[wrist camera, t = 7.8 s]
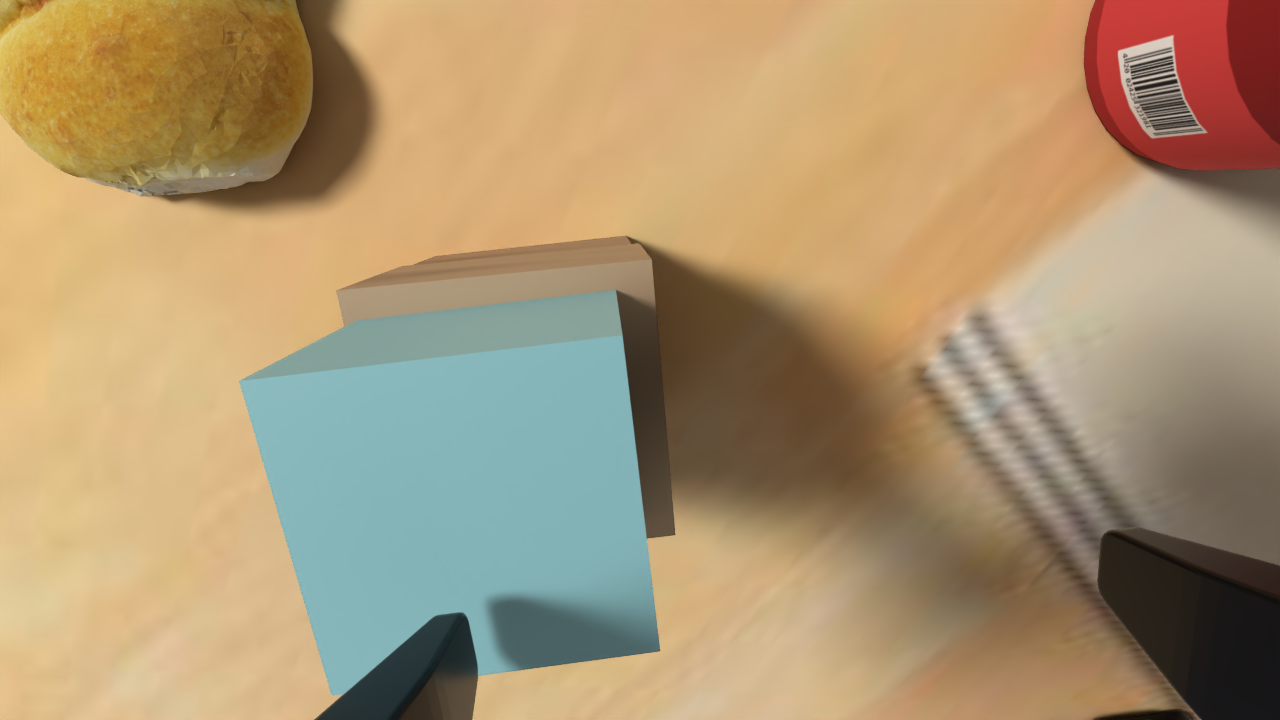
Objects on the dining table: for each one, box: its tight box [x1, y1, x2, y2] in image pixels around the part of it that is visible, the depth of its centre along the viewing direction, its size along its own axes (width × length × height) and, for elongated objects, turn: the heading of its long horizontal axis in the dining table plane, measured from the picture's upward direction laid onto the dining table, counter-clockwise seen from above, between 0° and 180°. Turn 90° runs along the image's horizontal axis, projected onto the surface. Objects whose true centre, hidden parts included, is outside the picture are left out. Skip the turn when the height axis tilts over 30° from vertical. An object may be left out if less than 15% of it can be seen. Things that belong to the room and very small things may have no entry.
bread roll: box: [0, 0, 313, 196], centre depth 16 cm, size 8×9×4 cm
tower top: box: [336, 243, 675, 538], centre depth 15 cm, size 6×6×4 cm
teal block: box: [239, 290, 660, 695], centre depth 11 cm, size 5×5×4 cm
